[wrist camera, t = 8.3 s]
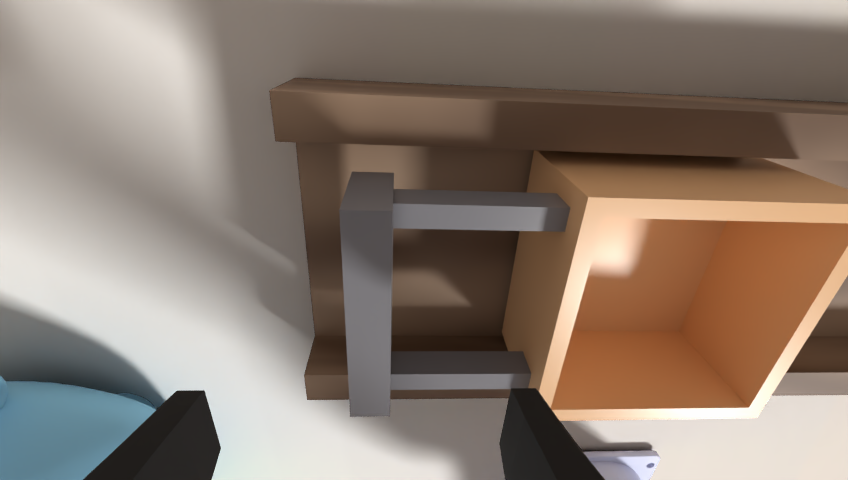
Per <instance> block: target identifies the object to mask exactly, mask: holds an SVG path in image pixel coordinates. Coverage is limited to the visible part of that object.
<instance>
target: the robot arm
mask: <svg viewBox="0 0 848 480" xmlns="http://www.w3.org/2000/svg"><path fill="white" fill-rule="evenodd" d="M220 449H221V447H220V443H219V440H218V436H217V433H216V429H215V426H214V423H213V419H212V416H211V412H210V409H209V405H208V402H207V398H206V395H205V391H176V392H175V393H174V394H173V395H172V396H171V397H170V398H169V399H168V400H166V401H165V402H164V403H163V404H162V405H161V406H160V407H159V408H158V409H157V410H156V411H155V412H154V413H153V414H152V415H151V416H150V417H149V418H148V419H147V420H145V421H144V422H143V423H142V424H141V425H140V426H139V427H138V428H137V429H136V430H135V431H134V432H133V433H132V434H131V435H130V436H129V437H128V438H127V439H126V440H125V441H124V442H122V443H121V444H120V445H119V446H118V447H117V448H116V449H115V450H114V451H113V452H112V453H111V454H110V455H109V456H108V457H107V458H105V459H104V460H103V461H102V462H101V463H100V464H99V465H98V466H97V467H96V468H95V469H94V470H93V471H91V472H90V473H89V474H88V475H87V476H86V477H85V478H84V479H83V480H211V479H212V476H213V473H214V469H215V466H216V463H217V459H218V456H219V453H220ZM500 450H501V456H502V462H503V468H504V474H505V480H650V478H651V477H652V475H653V473H654V471H655V469H656V467H657V465H658V463H659V461H660V457H659V455H658V453H657V452H656V451H652V450H650V451H597V452H583V451H582V450H581V449H580V447H579V446H578V445H577V443H576V442H575V441H574V439H573V438H572V437H571V435H570V434H569V433H568V431H567V430H566V429H565V427H564V426H563V425H562V423H561V422H560V420H559V419H558V418H557V416H556V415H555V414H554V412H553V411H552V409H551V408H550V407H549V405H548V404H547V402H546V401H545V399H544V398H543V397H542V395H541V394H540V392H539V391H538V390H537V389H536V388H511V391H510V395H509V400H508V405H507V410H506V415H505V420H504V424H503V429H502V434H501V439H500Z"/></svg>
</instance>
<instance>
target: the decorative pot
mask: <svg viewBox="0 0 848 480" xmlns="http://www.w3.org/2000/svg"><path fill="white" fill-rule="evenodd" d="M155 411H156V409H155V407H154V406H153V404H152V403H151V402H150V401H148V400H147V399H145V398H143V397H141V396H138V395H135V394H130V393H119V394H113V393H108V392H104V391H100V390H95V389H90V388H84V387H79V386H74V385H66V384H59V383H50V382H37V381H5V380H4V379H3V377H2V376H0V480H83V479H84V478H85V477H86V476H87V475H88V474H89V473H90V472H91V471H93V470H94V469H95V468H96V467H97V466H98V465H99V464H100V463H101V462H102V461H103V460H104V459H105V458H107V457H108V456H109V455H110V454H111V453H112V452H113V451H114V450H115V449H116V448H117V447H118V446H119V445H120V444H121V443H122V442H124V441H125V440H126V439H127V438H128V437H129V436H130V435H131V434H132V433H133V432H134V431H135V430H136V429H137V428H138V427H139V426H140V425H141V424H142V423H143V422H144V421H145V420H147V419H148V418H149V417H150V416H151V415H152V414H153V413H154V412H155Z"/></svg>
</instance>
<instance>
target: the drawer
mask: <svg viewBox="0 0 848 480" xmlns="http://www.w3.org/2000/svg"><path fill="white" fill-rule="evenodd" d="M339 214H340V233H341V252H342V270H343V289H344V308H345V327H346V345H347V364H348V383H349V402H350V417H356V416H390V390H447V389H511V388H536V389H537V390H538V391H539V392H540V394H541V395H542V397H543V398H544V399H545V401H546V402H547V404H548V405H549V407H550V408H551V409H552V411H553V412H554V414H555V415H556V416H557V418H558V419H559V420H560V421H583V420H658V419H733V418H757V417H758V416H759V414H760V413H761V411H762V409H763V408H764V406H765V405H766V403H767V402H768V400H769V398H770V397H771V395H772V394H773V392H774V391H775V389H776V387H777V386H778V384H779V383H780V381H781V380H782V378H783V376H784V375H785V373H786V372H787V370H788V369H789V367H790V365H791V364H792V362H793V361H794V359H795V357H796V356H797V354H798V353H799V351H800V350H801V348H802V346H803V345H804V343H805V342H806V340H807V339H808V337H809V335H810V334H811V332H812V331H813V329H814V328H815V326H816V324H817V323H818V321H819V320H820V318H821V317H822V315H823V313H824V312H825V310H826V309H827V307H828V306H829V304H830V302H831V301H832V299H833V298H834V296H835V295H836V293H837V291H838V290H839V288H840V287H841V285H842V283H843V282H844V280H845V279H846V277H847V276H848V189H846V188H843V187H840V186H838V185H835V184H832V183H829V182H827V181H824V180H821V179H818V178H816V177H813V176H810V175H807V174H805V173H802V172H799V171H796V170H794V169H791V168H788V167H785V166H783V165H780V164H777V163H774V162H772V161H769V160H766V159H763V158H744V157H715V156H686V155H657V154H627V153H598V152H569V151H540V150H534V153H533V159H532V164H531V170H530V175H529V181H528V187H527V192H490V191H453V190H416V189H394V173H386V172H353V171H352V173H351V176H350V179H349V182H348V185H347V188H346V191H345V194H344V197H343V200H342V203H341V206H340V209H339ZM393 228H401V229H451V230H501V231H520V232H519V238H518V243H517V249H516V254H515V260H514V266H513V271H512V277H511V283H510V288H509V294H508V300H507V305H506V311H505V317H504V322H503V328H502V334H503V337H504V340H505V343H506V346H507V349H508V351H391V346H392V277H393Z"/></svg>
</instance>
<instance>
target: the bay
mask: <svg viewBox="0 0 848 480" xmlns="http://www.w3.org/2000/svg"><path fill="white" fill-rule="evenodd" d="M269 92H270V100H271V108H272V116H273V125H274V133H275V141H278V142H296V149H297V159H298V169H299V179H300V189H301V199H302V209H303V219H304V229H305V239H306V249H307V260H308V270H309V280H310V290H311V300H312V310H313V320H314V330H315V338H314V341H313V345H312V349H311V352H310V356H309V360H308V363H307V367H306V371H305V374H304V378H305V386H306V394H307V400H345V399H349V383H348V364H347V345H346V327H345V308H344V289H343V270H342V252H341V233H340V214H339V209H340V206H341V203H342V200H343V197H344V194H345V191H346V188H347V185H348V182H349V179H350V176H351V173H352V171H353V172H386V173H394V189H416V190H453V191H490V192H527V187H528V181H529V175H530V170H531V164H532V159H533V153H534V150H540V151H569V152H598V153H627V154H657V155H686V156H715V157H744V158H763V159H766V160H769V161H772V162H774V163H777V164H780V165H783V166H785V167H788V168H791V169H794V170H796V171H799V172H802V173H805V174H807V175H810V176H813V177H816V178H818V179H821V180H824V181H827V182H829V183H832V184H835V185H838V186H840V187H843V188H846V189H848V103H839V102H817V101H795V100H772V99H750V98H728V97H706V96H684V95H662V94H639V93H617V92H595V91H573V90H551V89H529V88H506V87H484V86H462V85H440V84H418V83H396V82H374V81H351V80H329V79H307V78H294V79H292V80H290V81H288V82H286V83H284V84H282V85H280V86H278V87H276V88H274V89H272V90H270V91H269ZM519 232H520V231H501V230H451V229H401V228H393V277H392V346H391V351H508V349H507V346H506V343H505V340H504V337H503V334H502V328H503V322H504V317H505V311H506V305H507V300H508V294H509V288H510V283H511V277H512V271H513V266H514V260H515V254H516V249H517V243H518V238H519ZM510 391H511V389H447V390H390V399H454V398H509V395H510ZM780 395H848V276H847V277H846V279H845V280H844V282H843V283H842V285H841V287H840V288H839V290H838V291H837V293H836V295H835V296H834V298H833V299H832V301H831V302H830V304H829V306H828V307H827V309H826V310H825V312H824V313H823V315H822V317H821V318H820V320H819V321H818V323H817V324H816V326H815V328H814V329H813V331H812V332H811V334H810V335H809V337H808V339H807V340H806V342H805V343H804V345H803V346H802V348H801V350H800V351H799V353H798V354H797V356H796V357H795V359H794V361H793V362H792V364H791V365H790V367H789V369H788V370H787V372H786V373H785V375H784V376H783V378H782V380H781V381H780V383H779V384H778V386H777V387H776V389H775V391H774V392H773V394H772V395H771V396H780Z"/></svg>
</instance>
